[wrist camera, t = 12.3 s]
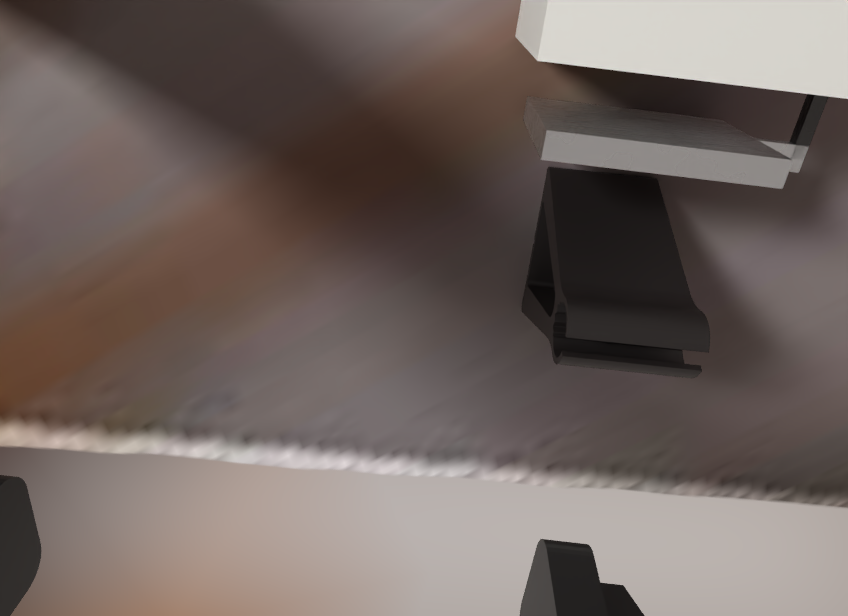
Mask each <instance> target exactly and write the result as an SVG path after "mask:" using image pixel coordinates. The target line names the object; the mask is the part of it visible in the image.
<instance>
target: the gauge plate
mask: <svg viewBox="0 0 848 616" xmlns="http://www.w3.org/2000/svg"><path fill="white" fill-rule="evenodd" d="M827 99H828V96H820V95H812V94H807V97H806V99H805V102H804V105H803V107H802V110H801V113H800V115H799V118H798V121H797V123H796V126H795V129H794V131H793V134H792V137H791V139H790V142H786V141H778V140H770V139H761V138H753V137H751V136H749V135H748V134H746V133H744V132H742V131H740V130H739V129H737V128H735V127H733V126H731V125H730V124H728V123H726V122H724V121H722V120H720V119H711V118H703V117H695V116H687V115H679V114H671V113H662V112H654V111H646V110H638V109H630V108H621V107H613V106H605V105H597V104H589V103H580V102H572V101H564V100H556V99H548V98H539V97H531V96H527V101H526V106H525V112H524V118H523V121H524V123H525V125H526V127H527V130H528V132H529V134H530V136H531V139H532V141H533V143H534V145H535V148H536V150H537V152H538V154H539V157H540V159H541V160H547V161H555V162H563V163H572V164H580V165H588V166H596V167H605V168H613V169H621V170H630V171H638V172H646V173H654V174H663V175H671V176H679V177H687V178H696V179H704V180H712V181H720V182H729V183H737V184H745V185H754V186H762V187H770V188H778V189H783V186H784V184H785V181H786V178H787V176H788V173H789V172H796V173H799V171H800V168H801V166H802V163H803V160H804V158H805V155H806V153H807V150H808V148H809V145H810V143H811V140H812V137H813V135H814V132H815V130H816V127H817V125H818V122H819V120H820V117H821V114H822V112H823V109H824V107H825V104H826V102H827Z"/></svg>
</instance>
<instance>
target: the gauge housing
mask: <svg viewBox="0 0 848 616" xmlns="http://www.w3.org/2000/svg"><path fill="white" fill-rule="evenodd" d="M515 37H516V38H517V39H518V40H519V41H520V42H521V43H522V44H523V46H524V47H525V48H526V49H527V50H528V51H529V52H530V53H531V54H532V56H533V57H534V58H535V59H536V60H537V61H543V62H551V63H559V64H567V65H576V66H584V67H592V68H600V69H608V70H616V71H624V72H633V73H641V74H649V75H657V76H665V77H673V78H682V79H690V80H698V81H706V82H714V83H722V84H731V85H739V86H747V87H755V88H763V89H771V90H779V91H788V92H796V93H804V94H812V95H820V96H828V97H837V98H845V99H848V0H521V5H520V11H519V17H518V24H517V30H516V36H515Z"/></svg>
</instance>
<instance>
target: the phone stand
mask: <svg viewBox="0 0 848 616" xmlns="http://www.w3.org/2000/svg"><path fill="white" fill-rule="evenodd" d="M522 312H523V313H524V314H525V315H526V316H527V317H528V318H529V319H530V320H531V321H532V322H533V323H534V324H535V325H536V326H537V327H538V328H539V329H540V330H541V331H542V332H543V333H544V334H545V335H546V336H547V338H548V339H549V341H550V344H551V348H552V355H553V360H554V362H555V363H556V364H562V365H571V366H581V367H590V368H600V369H609V370H619V371H628V372H638V373H647V374H657V375H666V376H675V377H685V378H695V377H697V376H698V375H699V374H700V373H701V372H702V369H701V366H699V365H689V364H684V360H683V354H682V350H690V351H700V352H709V346H710V331H709V325H708V321H707V319H706V316H705V315H704V313H703V312H701V311H700V310H699V309H698V308H697V307H696V305H695V304H694V302H693V300H692V298H691V295H690V292H689V288H688V285H687V281H686V278H685V274H684V271H683V267H682V264H681V260H680V257H679V253H678V250H677V246H676V243H675V239H674V236H673V232H672V229H671V225H670V222H669V218H668V215H667V211H666V208H665V204H664V201H663V197H662V194H661V190H660V187H659V183H658V180H657V178H648V177H638V176H629V175H620V174H610V173H601V172H591V171H582V170H573V169H563V168H554V167H548V170H547V175H546V180H545V185H544V191H543V196H542V201H541V206H540V212H539V217H538V222H537V228H536V233H535V241H534V244H533V249H532V254H531V260H530V265H529V270H528V275H527V281H526V286H525V291H524V297H523V302H522Z"/></svg>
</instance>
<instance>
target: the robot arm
mask: <svg viewBox="0 0 848 616" xmlns="http://www.w3.org/2000/svg"><path fill="white" fill-rule="evenodd" d="M40 558H41V544H40V539H39V536H38V531H37V527H36V523H35V519H34V515H33V510H32V506H31V502H30V498H29V494H28V490H27V486H26V484H25V482H24V480H23V479H21V478H19V477H13V476H4V475H0V616H10V615H11V614H12V612H13V611H14V609H15V608H16V607H17V605H18V604H19V602H20V601H21V599H22V598H23V596H24V595H25V594H26V592H27V591H28V589H29V587H30V586H31V584H32V582H33V580H34V578H35V576H36V573H37V570H38V567H39V563H40ZM520 616H644V614H643V613H642V612H641V610H640V609H639V607H638V606H637V604H636V603H635V602H634V600H633V599H632V597H631V596H630V595H629V593H628V592H627V590H626V589H625V587H624V586H623V585H615V584H607V583H600V580H599V576H598V572H597V568H596V563H595V559H594V555H593V551H592V549H591V547H590V546H589V545H587V544H580V543H571V542H561V541H553V540H544V539H541V540H540V541H539V542H538V545H537V548H536V552H535V555H534V559H533V563H532V566H531V570H530V574H529V578H528V581H527V585H526V589H525V592H524V596H523V600H522V604H521V610H520Z"/></svg>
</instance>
